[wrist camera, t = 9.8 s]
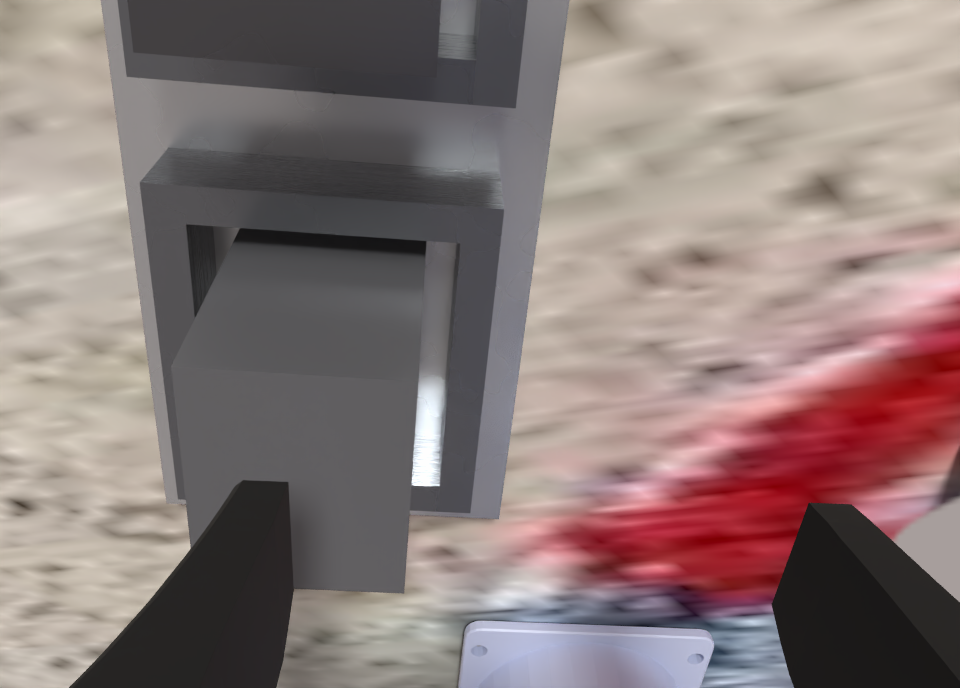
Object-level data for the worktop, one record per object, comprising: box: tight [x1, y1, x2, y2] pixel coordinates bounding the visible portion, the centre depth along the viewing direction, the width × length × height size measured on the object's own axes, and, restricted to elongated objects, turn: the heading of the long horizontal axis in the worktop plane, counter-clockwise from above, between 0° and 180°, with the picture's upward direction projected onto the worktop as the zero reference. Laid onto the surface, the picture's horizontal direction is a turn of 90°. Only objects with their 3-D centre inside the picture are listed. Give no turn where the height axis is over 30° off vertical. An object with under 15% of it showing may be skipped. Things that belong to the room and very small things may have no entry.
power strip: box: [101, 0, 569, 519], centre depth 16 cm, size 20×9×7 cm, turn 175°
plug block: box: [171, 228, 427, 593], centre depth 18 cm, size 5×4×6 cm
